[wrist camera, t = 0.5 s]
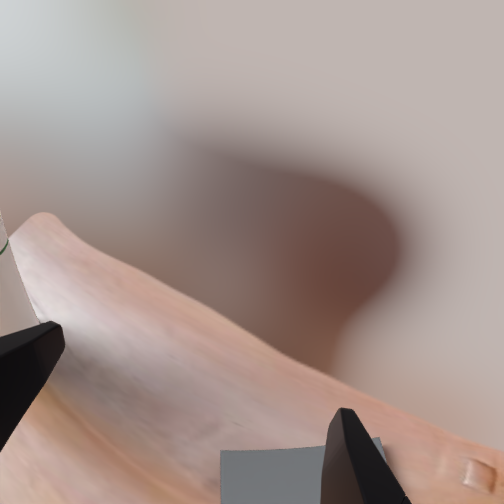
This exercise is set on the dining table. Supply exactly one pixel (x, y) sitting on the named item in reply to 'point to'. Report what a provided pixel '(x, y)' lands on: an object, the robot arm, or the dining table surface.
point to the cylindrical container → (12, 292)
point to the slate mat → (274, 475)
